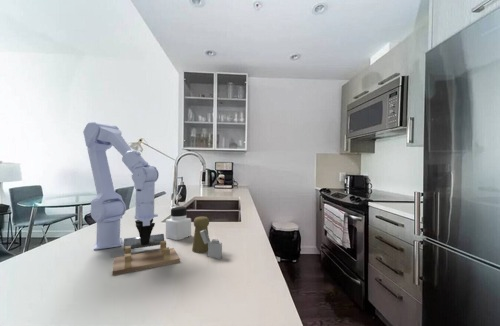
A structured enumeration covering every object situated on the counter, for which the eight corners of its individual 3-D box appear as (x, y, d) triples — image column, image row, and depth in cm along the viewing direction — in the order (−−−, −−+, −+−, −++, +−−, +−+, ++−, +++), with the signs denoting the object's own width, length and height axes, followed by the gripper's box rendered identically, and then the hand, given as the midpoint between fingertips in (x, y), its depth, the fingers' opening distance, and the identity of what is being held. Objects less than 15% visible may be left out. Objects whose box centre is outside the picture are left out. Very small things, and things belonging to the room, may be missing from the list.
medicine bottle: (191, 236, 91) (191, 206, 91) (177, 240, 85) (177, 209, 85) (179, 233, 95) (179, 204, 95) (165, 237, 89) (165, 207, 89)
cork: (206, 253, 73) (206, 219, 73) (188, 252, 74) (189, 218, 74) (212, 247, 79) (213, 215, 79) (196, 245, 80) (197, 214, 80)
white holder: (222, 256, 70) (222, 230, 70) (219, 258, 69) (219, 232, 69) (202, 253, 72) (202, 228, 73) (199, 255, 71) (199, 230, 71)
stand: (114, 261, 67) (114, 247, 67) (173, 250, 75) (173, 238, 75) (112, 275, 58) (112, 259, 58) (179, 261, 66) (179, 248, 66)
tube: (123, 248, 74) (124, 237, 74) (162, 242, 80) (162, 232, 80) (123, 251, 71) (124, 240, 71) (164, 245, 76) (164, 235, 76)
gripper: (160, 204, 71) (160, 247, 71) (155, 198, 84) (155, 235, 83) (135, 206, 68) (134, 251, 67) (134, 199, 80) (133, 237, 80)
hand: (144, 242), depth 75 cm, fingers closed on tube, 4 cm apart
